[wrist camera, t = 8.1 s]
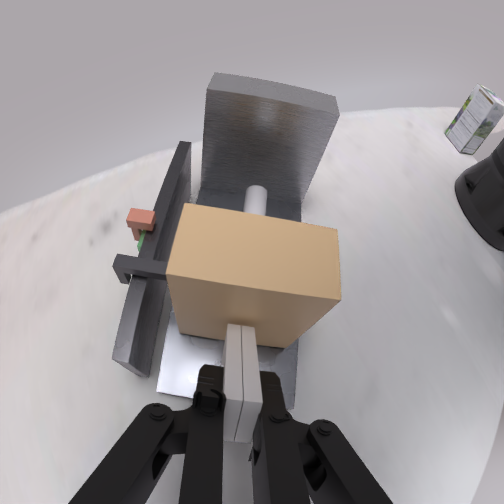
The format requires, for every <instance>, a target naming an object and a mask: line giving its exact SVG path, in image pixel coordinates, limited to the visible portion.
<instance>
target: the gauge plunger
mask: <svg viewBox="0 0 504 504" xmlns="http://www.w3.org/2000/svg"><path fill="white" fill-rule="evenodd" d="M266 203H267V190H266V189H265V188H264V187H262V186H258V185H253V186H250V187H248V188H247V190H246V195H245V202H244V209H243V212H240V211H234V210H228V209H222V208H215V207H209V206H203V205H196V204H190V203H184V207H183V210H182V214H181V217H180V221H179V224H178V228H177V231H176V235H175V239H174V243H173V246H172V250H171V254H170V258H169V262H168V263H167V262H161V261H156V260H150V259H144V258H139V257H133V256H127V255H122V254H117V256H116V258H115V260H114V263H113V266H112V267H113V269H114V271H115V273H116V274H117V276H118V278H119V280H120V282H121V283H124V284H129V283H130V279H131V275H130V274H132V275H137V276H143V277H148V278H154V279H159V280H165V281H167V282H168V287H169V291H170V296H171V300H172V304H173V309H174V313H175V317H176V321H177V325H178V329H179V333H182V334H188V335H194V336H200V337H206V338H212V339H219V340H225V337H226V331H227V325H228V324H235V325H241V326H249V327H254V328H255V337H256V345H263V346H271V347H280V348H287V347H288V346H289V345H290V344H292V343H293V342H294V341H295V340H296V339H298V338H299V337H300V336H301V335H302V334H303V333H305V332H306V331H307V330H308V329H309V328H310V327H312V326H313V325H314V324H315V323H316V322H317V321H318V320H320V319H321V318H322V317H323V316H324V315H325V314H326V313H327V312H329V311H330V310H331V309H332V308H333V307H334V306H335V305H336V304H337V303H338V302H339V301H341V283H340V262H339V245H338V231H337V229H333V228H328V227H323V226H317V225H312V224H307V223H302V222H296V221H291V220H285V219H280V218H274V217H269V216H265V214H266Z"/></svg>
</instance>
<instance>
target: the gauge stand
mask: <svg viewBox="0 0 504 504" xmlns="http://www.w3.org/2000/svg"><path fill="white" fill-rule="evenodd" d="M339 116H340V114H339V110H338V106H337V102H336V98H335V96H331V95H328V94H324V93H320V92H316V91H312V90H308V89H304V88H300V87H295V86H291V85H286V84H282V83H277V82H272V81H267V80H262V79H256V78H250V77H244V76H238V75H231V74H223V73H214V75H213V77H212V79H211V81H210V83H209V85H208V88H207V93H206V105H205V118H204V133H203V150H202V169H201V187H200V191H199V195H198V199H197V202H196V205H203V206H209V207H215V208H222V209H228V210H234V211H240V212H243V209H244V202H245V195H246V190H247V188H248V187H250V186H253V185H258V186H262V187H264V188H265V189H266V190H267V203H266V214H265V216H269V217H274V218H280V219H285V220H291V221H296V222H301V203H302V201H303V199H304V197H305V194H306V192H307V190H308V188H309V185H310V183H311V181H312V178H313V176H314V174H315V172H316V169H317V167H318V165H319V163H320V160H321V158H322V156H323V153H324V151H325V149H326V146H327V144H328V142H329V139H330V137H331V135H332V132H333V130H334V128H335V125H336V123H337V121H338V118H339ZM190 196H191V142H184V141H180V142H179V145H178V147H177V149H176V152H175V154H174V157H173V159H172V162H171V164H170V167H169V169H168V172H167V174H166V177H165V179H164V182H163V185H162V187H161V190H160V193H159V195H158V198H157V201H156V204H155V207H154V209H153V211H155V215H156V221H155V224H154V227H153V230H152V231H149V230H142V233H141V236H140V239H139V242H138V245H137V247H138V251H139V255H138V257H139V258H144V259H150V260H156V261H161V262H167V263H168V262H169V258H170V254H171V250H172V246H173V243H174V239H175V235H176V231H177V228H178V224H179V221H180V217H181V214H182V210H183V207H184V203H189V199H190ZM167 284H168V282H167V281H165V280H159V279H154V278H148V277H143V276H137V275H132V278H131V282H130V286H129V289H128V293H127V297H126V300H125V304H124V308H123V312H122V316H121V320H120V324H119V328H118V332H117V337H116V341H115V346H114V350H113V355H112V359H113V360H114V361H116V362H117V363H119V364H120V365H122V366H123V367H125V368H126V369H128V370H130V371H131V372H133V373H134V374H136V375H139V376H144V377H148V378H149V372H150V367H151V361H152V356H153V350H154V345H155V340H156V335H157V330H158V325H159V320H160V316H161V311H162V306H163V302H164V297H165V293H166V288H167ZM224 343H225V340H219V339H212V338H206V337H200V336H194V335H188V334H182V333H179V329H178V325H177V321H176V317H175V313H174V309H173V304H172V308H171V313H170V318H169V323H168V328H167V333H166V338H165V344H164V349H163V355H162V360H161V366H160V372H159V378H158V384H157V390H156V391H157V392H159V393H164V394H169V395H174V396H180V397H185V398H191V399H193V395H194V392H195V390H196V386H197V380H198V374H199V369H200V368H201V367H202V366H203V365H204V364H208V365H215V366H221V361H222V355H223V349H224ZM256 346H257V355H258V364H259V371H269V372H275V373H276V374H277V376H278V377H279V378H280V382H281V386H282V392H283V396H284V401H285V406H286V409H294V400H295V386H296V370H297V353H298V339H296V340H295V341H294V342H293V343H292V344H290V345H289V346H288V347H287V348H280V347H271V346H263V345H256Z"/></svg>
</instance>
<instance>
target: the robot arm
mask: <svg viewBox="0 0 504 504" xmlns="http://www.w3.org/2000/svg"><path fill="white" fill-rule="evenodd" d="M455 189H456V194H457V198H458V200H459V203H460V205H461V207H462V209H463V211H464V213H465V214H466V216H467V218H468V219H469V221H470V222H471V224H472V225H473V226H474V228H475V229H476V230H477V231H478V233H479V234H480V235H481V236H482V237H483V238H484V239H485V240H486V241H487V242H488V243H490V244H491V245H492V246H494V247H495V248H497V249H499V250H503V251H504V138H503V140H502V141H501V142H500V144H499V145H498V146H497V147H496V149H495V150H494V151H493V153H492V154H491V155H490V156H489V157H487V158H486V159H484V160H482V161H481V162H479V163H477V164H475V165H473V166H472V167H470V168H468V169H466V170H465V171H464V172H463V173H462V174H461V175H460V177H459V178H458V179H457V181H456V184H455ZM252 438H253V447H252V450H251V453H250V456H249V460H248V461H251V459H252V478H253V496H254V504H310V499H309V495H310V497H311V499H312V501H313V503H314V504H393V503H392V501H391V500H390V499H389V497H388V496H387V495H386V493H385V492H384V491H383V489H382V488H381V486H380V485H379V484H378V482H377V481H376V480H375V478H374V477H373V476H372V474H371V473H370V471H369V470H368V469H367V467H366V466H365V465H364V463H363V462H362V460H361V459H360V458H359V456H358V455H357V453H356V452H355V451H354V449H353V448H352V446H351V445H350V444H349V442H348V441H347V439H346V438H345V437H344V435H343V434H342V432H341V431H340V430H339V428H338V427H337V426H336V425H335V424H334V423H332V422H331V421H328V420H324V419H323V420H316V421H314V422H312V423H311V425H308V424H304V423H301V422H298V421H296V420H294V419H293V418H292V416H291V414H290V413H289V412H287V411H286V406H285V401H284V396H283V392H282V386H281V382H280V378H279V377H278V376H277V374H276V373H275V372H269V371H259V364H258V355H257V346H256V337H255V328H254V327H249V326H241V325H235V324H228V325H227V331H226V337H225V343H224V349H223V355H222V361H221V366H215V365H208V364H204V365H203V366H202V367H201V368H200V369H199V374H198V380H197V386H196V390H195V392H194V395H193V404H192V406H191V407H189V408H188V409H185V410H181V411H172V410H171V409H170V407H168V406H166V405H164V404H160V403H152V404H149V405H146V406H145V407H144V408H143V409H142V410H141V411H140V413H139V414H138V415H137V417H136V418H135V419H134V420H133V422H132V423H131V424H130V426H129V427H128V428H127V430H126V431H125V432H124V433H123V435H122V436H121V437H120V438H119V440H118V441H117V442H116V444H115V445H114V446H113V447H112V449H111V450H110V451H109V453H108V454H107V455H106V456H105V458H104V459H103V460H102V461H101V463H100V464H99V465H98V467H97V468H96V469H95V470H94V472H93V473H92V474H91V475H90V477H89V478H88V479H87V481H86V482H85V483H84V484H83V486H82V487H81V488H80V489H79V491H78V492H77V493H76V494H75V496H74V497H73V498H72V500H71V501H70V502H69V503H68V504H145V503H146V501H147V500H148V498H149V496H150V494H151V493H152V491H153V489H154V487H155V486H156V484H157V482H158V480H159V479H160V477H161V475H162V473H163V472H164V470H165V468H166V466H167V464H168V463H169V461H170V459H171V457H172V455H174V454H185V459H184V466H183V474H182V481H181V489H180V497H179V504H222V470H223V441H230V442H233V440H234V442H241V443H251V441H252Z"/></svg>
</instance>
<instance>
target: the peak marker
mask: <svg viewBox="0 0 504 504" xmlns="http://www.w3.org/2000/svg"><path fill="white" fill-rule="evenodd" d="M126 221H127V225H128V227H130V228H131V229H132V232H133V236H134V239H135V240H136V241H139V239H140V236H141V233H142V230H149V231H152V230H153V227H154V224H155V221H156V215H155V211H148V210H142V209H135V208H131V209H130V212H129V214H128V217H127V219H126Z"/></svg>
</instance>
